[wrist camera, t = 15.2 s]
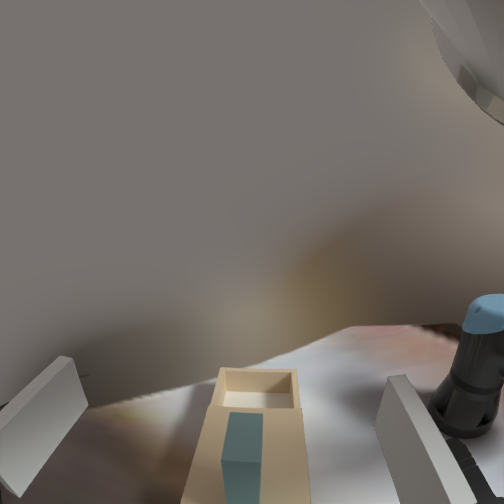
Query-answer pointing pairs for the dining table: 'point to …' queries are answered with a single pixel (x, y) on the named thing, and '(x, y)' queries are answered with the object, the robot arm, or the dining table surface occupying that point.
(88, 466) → the dining table surface
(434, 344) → the dining table surface
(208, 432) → the carton lid
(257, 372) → the carton
